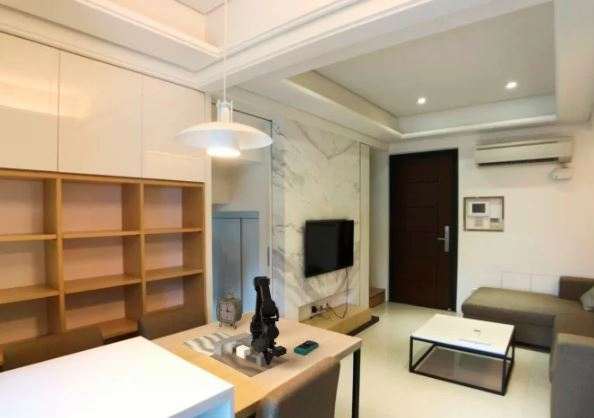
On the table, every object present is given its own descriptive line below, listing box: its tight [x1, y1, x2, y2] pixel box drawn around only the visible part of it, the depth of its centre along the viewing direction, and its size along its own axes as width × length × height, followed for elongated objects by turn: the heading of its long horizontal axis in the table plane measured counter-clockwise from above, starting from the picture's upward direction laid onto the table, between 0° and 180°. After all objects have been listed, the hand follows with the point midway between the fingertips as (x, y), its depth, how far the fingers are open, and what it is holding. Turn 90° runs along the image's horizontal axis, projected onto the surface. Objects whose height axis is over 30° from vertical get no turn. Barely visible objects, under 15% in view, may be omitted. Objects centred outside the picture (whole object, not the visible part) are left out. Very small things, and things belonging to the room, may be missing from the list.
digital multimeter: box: [293, 339, 319, 356], centre depth 186 cm, size 7×15×3 cm, turn 147°
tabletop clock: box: [215, 286, 243, 330], centre depth 220 cm, size 14×9×25 cm, turn 68°
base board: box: [182, 331, 290, 378], centre depth 180 cm, size 24×57×1 cm, turn 48°
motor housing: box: [214, 332, 252, 359], centre depth 180 cm, size 20×6×6 cm, turn 138°
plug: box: [236, 345, 266, 366], centre depth 171 cm, size 4×19×4 cm, turn 48°
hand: (268, 365), depth 162 cm, fingers closed
